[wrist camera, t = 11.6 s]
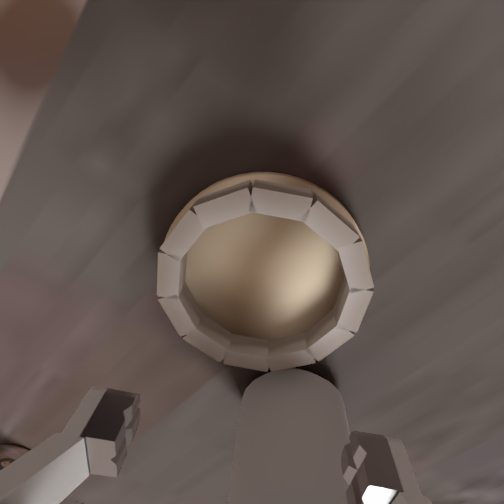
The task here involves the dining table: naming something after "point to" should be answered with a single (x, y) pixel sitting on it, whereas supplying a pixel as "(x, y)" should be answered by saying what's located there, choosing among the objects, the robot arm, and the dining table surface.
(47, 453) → the robot arm
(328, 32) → the dining table surface
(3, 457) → the beer glass
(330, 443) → the can
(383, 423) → the dining table surface
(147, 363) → the dining table surface
